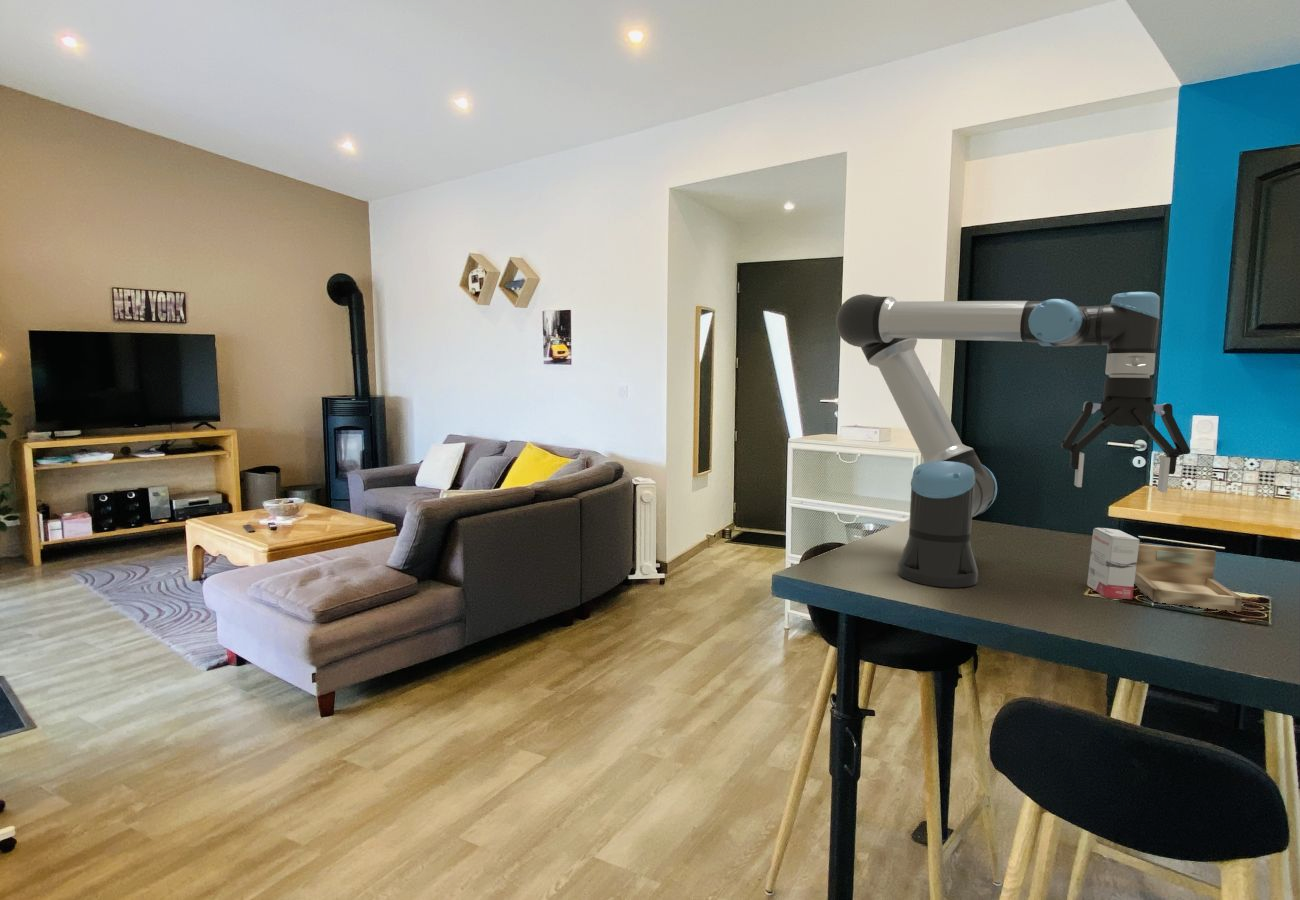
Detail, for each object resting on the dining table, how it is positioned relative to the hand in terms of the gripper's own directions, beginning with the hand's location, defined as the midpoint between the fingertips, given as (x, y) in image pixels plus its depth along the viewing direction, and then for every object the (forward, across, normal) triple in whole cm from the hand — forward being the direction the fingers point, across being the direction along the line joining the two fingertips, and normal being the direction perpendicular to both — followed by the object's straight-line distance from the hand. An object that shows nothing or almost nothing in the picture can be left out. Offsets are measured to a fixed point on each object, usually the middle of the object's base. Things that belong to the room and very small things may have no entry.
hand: (1119, 488), depth 130 cm
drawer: (+20, +12, +3) cm, 24 cm away
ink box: (+20, 0, 0) cm, 21 cm away
